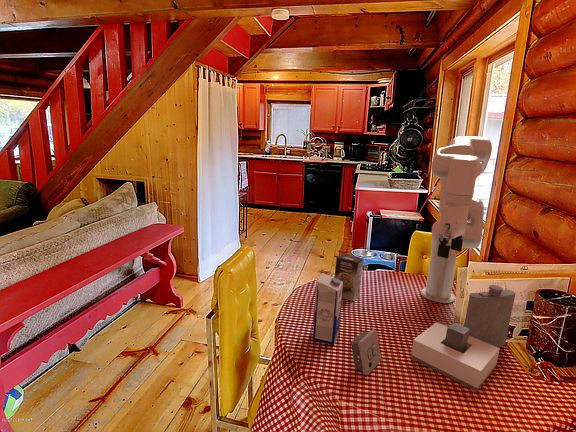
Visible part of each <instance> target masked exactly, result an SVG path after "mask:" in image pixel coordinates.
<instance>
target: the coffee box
mask: <svg viewBox="0 0 576 432" xmlns="http://www.w3.org/2000/svg"><path fill="white" fill-rule="evenodd" d="M363 264H364V258H363V257H359V256H355V255H351V254H347V253H341V254H338V256H336V259H335V267H334V268H335V270H334V271H335V272H334V278H336V279H338V280H340V281H342V282H343V287H342V299H345V300H348V301H352V302H355V301H356V300H357V299H358V298H359V297H360V292H361V291H360V290H361V283H362V282H361V281H362V274H363Z"/></svg>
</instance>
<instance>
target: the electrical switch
mask: <svg viewBox="0 0 576 432" xmlns="http://www.w3.org/2000/svg"><path fill="white" fill-rule="evenodd" d="M350 347H351V352H352V358H353V363H354V369H355V370H357V371H360V372H362V374H363V375H364V376H368V375H369V374H370V373H371V372H373V370H374V368H376V367H377V366H378V364H380V362H381V361H382V357H381V356H382V354H381V351H380V345H379V338H378V332H377V330H376V329H371V330H370V331H362V332H361V333H360V334H359V335H357V336H356V337H355V338H354V339H353V340H352V341H351V342H350Z"/></svg>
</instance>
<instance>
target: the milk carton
mask: <svg viewBox="0 0 576 432" xmlns="http://www.w3.org/2000/svg"><path fill="white" fill-rule="evenodd" d="M342 287H343V282H342V281H340V280H338V279H336V278H335V276H332V275H329V274H326V273H324V272H321V274H320V275H319V277H318V278H317V280H316V284H315V300H314V301H315V302H314V316H313V317H314V318H313V331H312V341H313V342H317V343H322V344H326V345H330V346H335V345H336V341H337V339H338V336H339V333H340V331H339V330H340V321H341V310H342V309H341V308H342V299H343V298H342Z"/></svg>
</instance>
